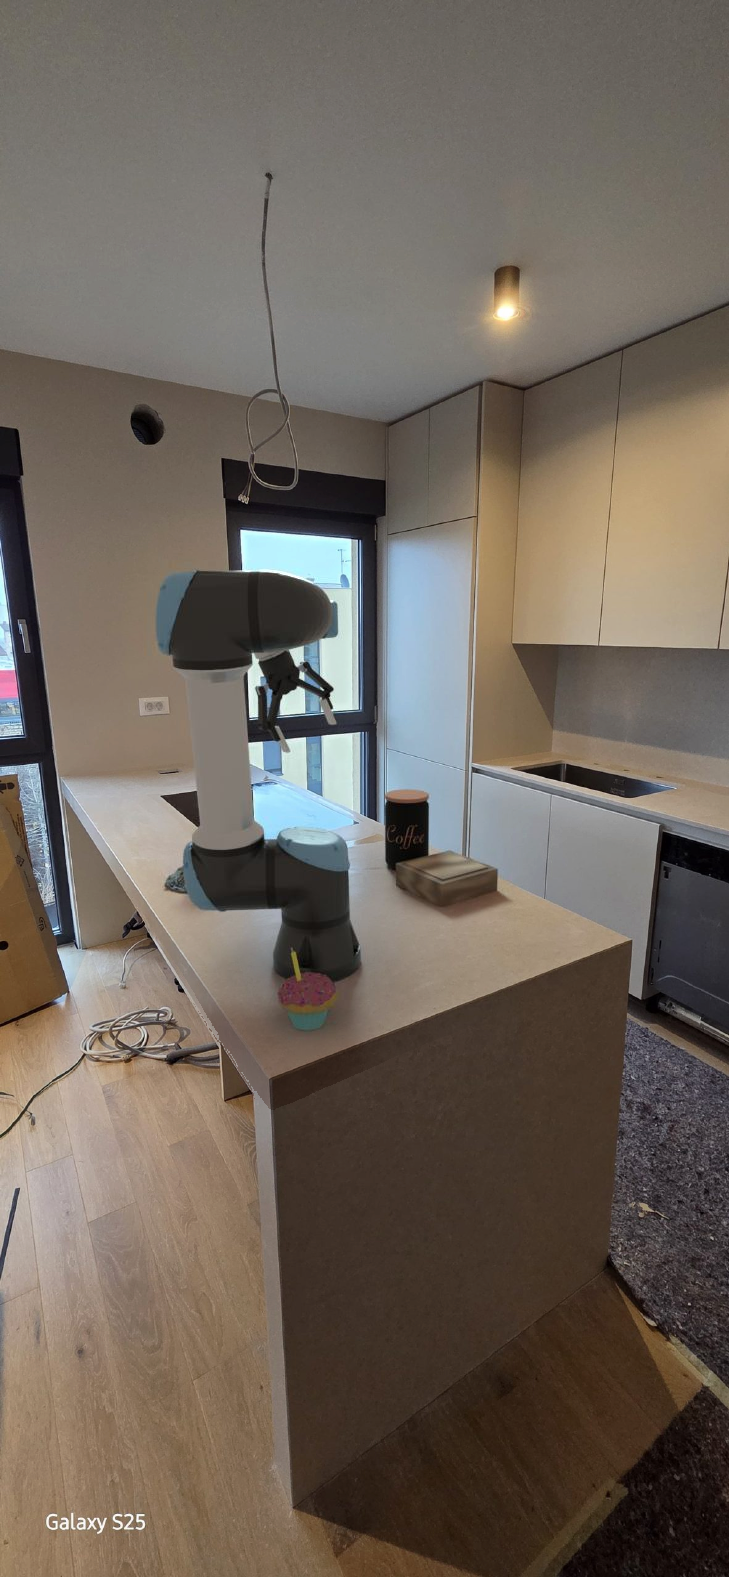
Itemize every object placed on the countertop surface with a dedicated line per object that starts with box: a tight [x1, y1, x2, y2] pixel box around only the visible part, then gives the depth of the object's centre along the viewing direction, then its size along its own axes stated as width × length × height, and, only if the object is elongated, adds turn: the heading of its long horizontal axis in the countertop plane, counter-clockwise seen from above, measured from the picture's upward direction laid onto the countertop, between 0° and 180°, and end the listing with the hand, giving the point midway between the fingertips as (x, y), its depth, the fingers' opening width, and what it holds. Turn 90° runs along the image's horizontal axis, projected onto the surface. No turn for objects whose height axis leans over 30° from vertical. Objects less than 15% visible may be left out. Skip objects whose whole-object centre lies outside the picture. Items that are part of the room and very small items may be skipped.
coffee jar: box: [384, 788, 430, 871], centre depth 160 cm, size 11×11×18 cm
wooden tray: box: [395, 850, 499, 908], centre depth 147 cm, size 16×16×5 cm
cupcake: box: [277, 948, 339, 1032], centre depth 95 cm, size 9×8×12 cm
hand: (310, 737), depth 155 cm, fingers open, 13 cm apart
